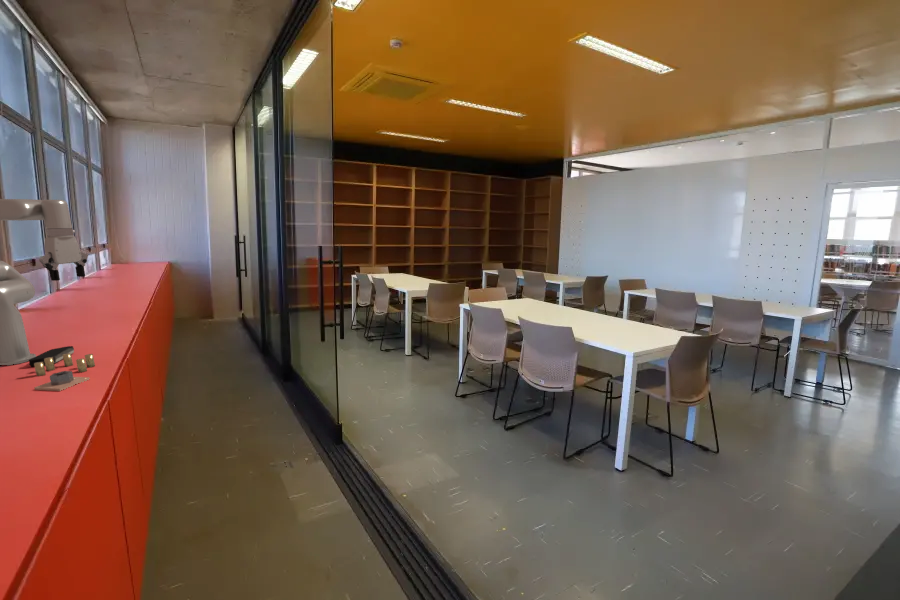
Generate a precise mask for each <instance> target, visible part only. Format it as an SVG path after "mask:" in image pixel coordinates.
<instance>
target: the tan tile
mask: <svg viewBox="0 0 900 600" xmlns="http://www.w3.org/2000/svg"><path fill="white" fill-rule="evenodd" d="M73 379H74V380H73V381H71V382H70V383H66V384H62V385H51V381H49V382H46V383H43V384H40V385H38V386H34V390H35V391H48V392H49V391H52V392H62V391H64V390H67V389H69V388H68V387H70V388H72V387H74V386H73V385H75V384H77V385H79V384H78V383H80V384H82V383H84V381H85V382H87V380H88V381H90V380H91V377H89V376H88V377H87V376H73ZM89 379H90V380H89ZM81 382H82V383H81ZM71 386H72V387H71ZM75 386H76V385H75ZM66 388H67V389H66ZM63 389H64V390H63ZM61 390H62V391H61Z"/></svg>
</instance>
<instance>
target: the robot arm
mask: <svg viewBox="0 0 900 600" xmlns="http://www.w3.org/2000/svg"><path fill="white" fill-rule="evenodd" d="M0 221H43V222H44V226H45V233H46V236H47V237H45V238H44V255H43V256H42V257H40V258H39V259H38V261H39V262H40V263H41V264H42V266H43V267H44V268H45V269H46V270H47V271H48V272H49V276H50V280H51V281H58V282H59V281H60V280H61V279H60V273H59V269H57V268H58V267H59V265H64V264H72V263H73V264H74V265H75V273H76V277H78V278H79V277H80V278H84V277H86V273H85V266H86V263H87V262H88V258H89V254H88V253H85V252H82V251H81V249H80V245H79V243H78V240H77V238H76V236H75V235H74V234H76V230H75V229H73V225H72V219H71V214H70V209H69V204H68V202H67V201H66V200H65V199H31V198H30V199H28V198H26V199H25V198H0ZM35 294H36V290H35V287H34V285H33V284H32V282H31V281H30V280H29V279H27V278H26V277H25V276H24V275H23V274H22V273H20V272H19V271H18V270H17V269H16V268H14V267H13V266H12V265H11V264H9V263H7V262H5V260H4V261H3V260H0V365H7V366H13V364H14V365H18V364H19V365H20V364H22V363H27V362H29V359H32V358H34V357H36V356H37V355H36V354H35V353H31V351H30V347H29V343H28V339H27V338H28V337H27V333H26V329H25V325H24V321H23V315H22V313H21V312H20V310H19V309H17V307H16V306H15V305H16V304H21V303H24V302H28V301H30V300H31V299H33V298H34V297H35Z"/></svg>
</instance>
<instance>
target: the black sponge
mask: <svg viewBox="0 0 900 600" xmlns="http://www.w3.org/2000/svg"><path fill="white" fill-rule="evenodd" d="M74 352H75V349H74V346H72V345H71V346H69V345H67V346H62V347H58V348H51V349H49V350H47V351H45V352H42V353H40V354H38V355H36V357H34V358H32V359H29V361H28V362H29V363H28V364H29V366H30V367H31V368H33V367H34V368H35V366H34V363H37V362H43V364H44V366H45V361H44V359H45V358H49V357H53V361H54V364H56V363H58V362H60V361H61V360H63V354H66V353H71V355H72V354H74Z"/></svg>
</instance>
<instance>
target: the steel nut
mask: <svg viewBox="0 0 900 600" xmlns="http://www.w3.org/2000/svg"><path fill="white" fill-rule="evenodd" d="M73 377H74V374H73V371H71V370H63V371H59V372H54V373H52V374H51V375H50V376H49V379H50V380H49V381H50V382H51V385H62V384H66V383H70V382H71V381H73V380H74V379H73Z"/></svg>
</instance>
